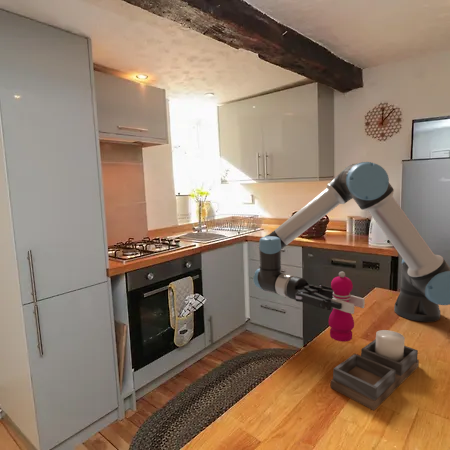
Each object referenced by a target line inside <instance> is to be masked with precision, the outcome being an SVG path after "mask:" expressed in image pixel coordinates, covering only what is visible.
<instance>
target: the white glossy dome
mask: <svg viewBox="0 0 450 450" xmlns="http://www.w3.org/2000/svg"><path fill="white" fill-rule="evenodd" d="M375 334H376V335H375V339H376V346H375V353H376V354H379V355H381V356H384V357H387V358H389V359H392V360H394V361H397V362H399V363H400V362H401V361H402V360H403V358H404V346H405V342H406V341H405V340H406V337H405V335H403V334H402V333H400V332H398V331H394V330H390V329H389V330H387V329H382V330H381V329H380V330H378V331H376V333H375Z"/></svg>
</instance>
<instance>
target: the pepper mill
mask: <svg viewBox="0 0 450 450" xmlns="http://www.w3.org/2000/svg"><path fill="white" fill-rule="evenodd" d="M330 287H331V288H332V290H333V291H334V292H333V298H335V299H339V300H342V301H346V302H349V299H351V297H350V296H351V295H352V294H351V292H353V288H354V284H353V281H352V279H350V278H349V277H347V276H346V272H344V271H339V272H338V276H335V277H333V279H332V280H331V283H330ZM354 320H355V319H354V317H353V314H351V313H348V312H344V311H341V310H338V309H335V308H332V309H331V312H330V314H329V317H328V326H329V327H330V329H329V337H330V338H331V339H332V340H334V341H337V342H343V343H344V342H349V341H351V340H353V332H352V330H353V329H354V328H355V321H354Z"/></svg>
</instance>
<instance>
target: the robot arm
mask: <svg viewBox="0 0 450 450" xmlns="http://www.w3.org/2000/svg"><path fill="white" fill-rule="evenodd" d="M389 178H390V177H389V175H388V172H387V171H386V170H385V168H384V167H383V166H382V165H379V164H378V163H375V162H371V161H362V162H359V163H358V162H357V163H352V164H350V165H348V166H346V167H345V168H344V169H343V170H342V171H341V172H339V173H338V175H336V176H335V177H334V178H333V179H332V180H331V181H329V182H328V183H327V185H326V188H325V189H324V190H322V191H321V192H320V193H319V194H318V195H317V196H314V198H313V199H311V201H309V202H308V203H306V204H305V205H304V206H303V207H302V208H300V209H298V210H297V212H295V213H293V215H292V216H290V217H289V218H288V219H287V220H285V221H284V222H283V223H281V225H279V226H278V227H276V228H275V229H274V230H273V231H271V232H270V233H269V234H266V235H265V236H262V237H260V238H259V245H258V250H259V268H257V269H256V270H255V272H254V276H253V278H252V279H253V280H252V281H253V285H255V287H256V288H258V289H260V290H263V291H265V292H269V293H272V294H276V295H278V296H282V297H284V298H288V299H291V300H294V301H295V302H299V303H304V304H307V305H310V306H313V307H315V308H320V309H322V310H325V309H326V310H327V311H332V309H333V308H335V309H338V310H341V311H344V312H348V313H351V315H353V314H355V307H357V308H361V309H364V308H365V301H366V300H365V298H363V297H360V296H355V295H354V294H351V296H350V297H351V299H349V302H346V301H342V300H339V299H335V298H333V292H334V291H333V290H332V288H331V285H330V286H329V285H326V284H324V283H321V282H320V283H318V285H315V284H309V282H308V281H307V280H306V279H305V278H303V277H299V276H295V275H292V274H288V273H283V272H282V250H283V249H285V248H286V246H287V245H289V244H291V243H292V242H293V241H294V240H296V239H297V238H298V237H299V236H301V235H302V234H303V233H305V232H306V231H307V230H308V229H310V228H311V227H312V226H313V225H315V224H316V223H318V222H319V221H320V220H321V219H323V218H324V217H325V216H326V215H328V214H329V213H330V212H331V211H333V210H334V209H335V208H337V207H338V206H339V205H345V204H346V203H347V202H349V201H351V200H352V199H353V200H354V202H355V203H356V204H357V206H358V207H359V209H360V210H361V211H366V212H368V213H369V215H371V217H372V219H374V221H375V223H376V224H377V225H378V226H379V228H380V230H381V231H382V232H383V233H384V235H385V236H386V238H387V239H388V240H389V243H391V244H392V246H393V247H394V249H395V250H396V251H397V253H398V255H400V257H401V258H402V259H401V269H400V270H401V272H400V274H401V275H400V292H399V294H398V296H397V299H396V301H395V303H394V309H393V310H394V313H395V314H396V315H398V316H399V317H402V318H405V319H407V320H410V321H411V320H412V321H416V322H422V323H431V322H436V321H439V320H440V319H441V310H440V306H449V305H450V266H449V264H448V262H447V261H446V260H445V259H444V257H443V256H442V255H440V254H434V252H433V251H432V249H431V248H430V246H429V245H428V243H427V242H426V241H425V240H424V238H423V237H422V236H421V234H420V233H419V231H418V229H416V227H415V226H414V224H413V223H412V221H411V220H410V219H409V217H408V216H407V215H406V213H405V211H404V210H403V209H402V208H401V206H400V204H399V203H398V202H397V200H396V199H395V198H394V196H393V195H394V192H395V188H393V186H392V184H391V183H390V179H389Z"/></svg>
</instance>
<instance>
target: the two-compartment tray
mask: <svg viewBox="0 0 450 450" xmlns="http://www.w3.org/2000/svg"><path fill="white" fill-rule="evenodd" d="M375 346H376V338H375V339H374V340H372V341H371V342H369V343H368V344H367V345H365V346H364V347H362V348H361V349H360V351H361V354H360V355H359V354H358V353H354V354H352V355H350V356H349V357H348V358H347V359H345V360H343V361H342V362H341V363H340V364H338V365H336V366H335V367H334V368H333V374H332V376H333V377H332V378H331V380H330V389H332V390H334V391H336V392H338V393H339V394H341V395H344V396H346V397H347V398H350V399H351V400H352V401H355V402H356V403H358V404H361V405H363V406H364V407H366V408H369V409H370V410H372V411H375V410H376V409H377V408H378V407H379V406H380V405H381V404H382V403H383V402H385V400H387V398H388V397H389V396H390V395H391V394H392V393H393V392H395V390H396V389H398V388H399V386H400V385H401V384H402V383H404V381H405V380H406V379H408V378H409V376H410V375H412V373H414V372H415V371H416V370H417V369H418V368H419V366H420V365H419V363H420V359H418V354H419V352H418V351H419V350H418V349H415V348H412V347H410V346H406V345H404V358H403V360H402V361H401V362H400V363H399V362H397V361H394V360H392V359H389V358H387V357H384V356H381V355H379V354H376V353H375Z"/></svg>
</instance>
